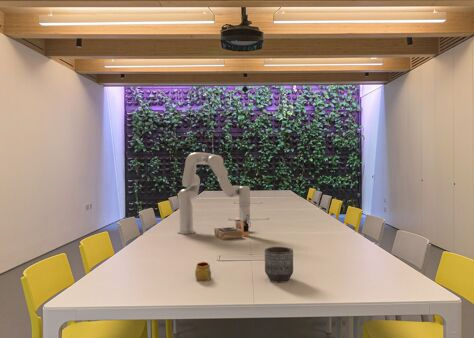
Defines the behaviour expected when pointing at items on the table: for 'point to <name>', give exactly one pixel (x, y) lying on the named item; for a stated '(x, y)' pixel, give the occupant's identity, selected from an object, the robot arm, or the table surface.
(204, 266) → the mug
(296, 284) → the table surface
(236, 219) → the teacup with lid
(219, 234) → the oak box
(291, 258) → the planter
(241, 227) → the block
